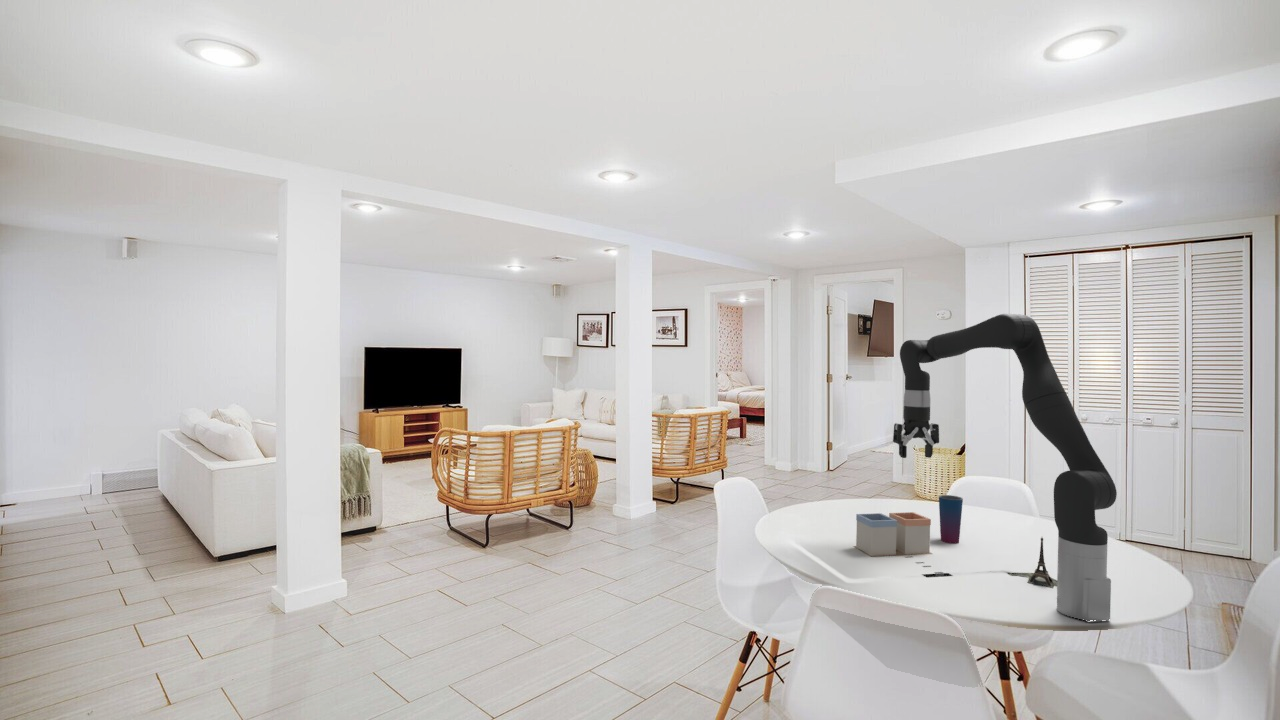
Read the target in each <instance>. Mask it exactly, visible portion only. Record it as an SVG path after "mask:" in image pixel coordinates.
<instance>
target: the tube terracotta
mask: <svg viewBox="0 0 1280 720" xmlns="http://www.w3.org/2000/svg"><path fill="white" fill-rule="evenodd" d="M888 517H890V518H893V519H895V520H897V527H896V550H898V551H900V552H902V553H904V554H918V553H931V552H930V546H931V545H930V543H931V524H932V523H931V522H932V518H929V517H926V516H924V515H921V514H919V513H916V512H913V511H912V512H909V511H908V512H889V514H888Z"/></svg>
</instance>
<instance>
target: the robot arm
mask: <svg viewBox="0 0 1280 720" xmlns="http://www.w3.org/2000/svg"><path fill="white" fill-rule="evenodd" d="M983 348H984V349H985V348H989V349H990V348H992V349H993V348H999V349H1002V350H1012V351H1013V352H1014V353H1015V356H1016V357H1017V360H1018V361H1019V363H1020V366H1021V368H1022V372H1023V373H1022V374H1023V376H1022V377H1023V378H1022V389H1021V395H1022V396H1021V398H1022V402H1023V404H1024V407H1025V409H1026V412H1027V413H1028V415H1029V418H1030V420H1031V423H1032V424H1033V425H1034V426H1035V429H1037V430H1038V431H1039V432H1040V434H1042V436H1043V437H1044V438H1045V439H1046V440H1048V442H1050V443H1051V444H1052V445H1053V447H1055V448H1056V449H1057V451H1059V454H1060V455H1061V456H1062V457H1063V459H1064V461H1065V463H1066V465H1067V467H1068V470H1066V471H1063V472H1061V473H1059V474H1058V476H1057V477H1056V479H1055V482H1054V486H1053V513H1054V514H1053V516H1054V517H1053V518H1054V522H1055V525H1056V527H1057V530H1058V531H1057V532H1058V535H1057V536H1058V537H1057V538H1058V539H1057V540H1058V541H1057V578H1056V580H1057V586H1056V610H1057V611H1058V613H1060V614H1062V615H1064V614H1065V615H1064V616H1066V615H1067V617H1069V616H1071V617H1070V618H1072V617H1074V618H1073V619H1075V618H1079V619H1084V620H1087V621H1090V620H1093V621H1094V620H1096V621H1102V620H1109V619H1110V620H1111V603H1112V602H1111V596H1112V595H1111V594H1112V593H1111V591H1112V580H1111V578H1109V577H1108V576H1107V574H1108V570H1107V569H1108V538H1109V537H1108V536H1109V535H1108V532H1107V530H1106V529H1105V528H1103V527H1101V526H1098V524H1097V521H1096V511H1097V510H1105V509H1108V508H1110V507H1111V506H1113V505H1114V504H1115V502H1116V500H1117V493H1118V492H1117V488H1116V485H1115V482H1114V480H1113V478H1112V476H1111V475H1110V473H1109V471H1108V470H1107V467H1106V466H1105V465H1104V463H1103V462H1102V460H1101V459H1100V457H1099V456H1098V454H1097V452H1096V451H1095V449H1094V447H1093V445H1092V444H1091V442H1090V440H1089V437H1088V436H1087V434H1086V431H1085V430H1084V427H1083V426H1082V424H1081V421H1080V419H1079V417H1078V416H1077V413H1076V411H1075V408H1074V406H1073V405H1072V402H1071V401H1070V398H1069V396H1068V395H1067V391H1066V390H1065V388H1064V387H1063V384H1062V382H1061V381H1060V378H1059V377H1058V373H1057V371H1056V369H1055V367H1054V365H1053V363H1052V361H1051V359H1050V356H1049V352H1048V351H1047V347H1046V345H1045V342H1044V338H1043V336H1042V332H1041V331H1040V328H1039V326H1038V324H1037V322H1036V321H1035V320H1034V319H1033V318H1032V317H1030V316H1028V315H1027V314H1026V315H1025V314H1017V313H1016V314H1015V313H1001V314H998V315H995V316H992V317H991V318H988V319H986V320H983V321H981V322H980V323H979V322H978V323H977V324H974V325H972V326H969V327H968V326H967V327H965V328H961V329H958V330H955V331H949V332H946V333H941V334H937V335H934V336H932V337H930V338H929V339H927V340H921V339H917V340H916V339H909V340H906V341H904V342H903V343H902V345H901V347H900V350H899V358H900V363H901V366H902V370H903V374H904V394H903V413H902V414H903V415H902V416H903V417H902V419H903V423H897V422H895V423H894V424H893V435H892V437H893V438H892V442H893V443H894V444H897V445H898V455H899V457H900V458H902V459H906V458H907V455H908V454H907V452H908V451H907V450H908V449H907V448H908V447H907V444H908V443H909V441H911V440H912V439H917V438H918V439H922V440H923V442H924V444H925V445H924V457H925V458H928V459H930V458H932V456H933V454H934V453H933V452H934V451H933V450H934V449H933V447H934V445H936V444H939V443H940V428H939V427H940V425H939V424H938V423H930V421H931V393H930V392H931V391H930V387H931V376H930V373H929V372H927V371H925V370H923V369H921V365H920V364H926V363H933V362H936V361H938V360H941V359H946V358H947V359H948V358H953V357H957V356H960V355H964V354H965V353H967V352H970V351H972V350H975V349H983ZM903 431H904V432H903ZM929 431H930V433H929ZM1079 619H1078V620H1079ZM1102 622H1103V621H1102Z"/></svg>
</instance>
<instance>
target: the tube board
mask: <svg viewBox="0 0 1280 720" xmlns="http://www.w3.org/2000/svg"><path fill="white" fill-rule="evenodd" d="M852 547H854V548H855V549H856V550H857V551H860V552H862V553H863V554H865V555H867V556H869V557H871V558H879V557H880V558H881V557H899V556H900V557H901V556H902V557H903V556H904V557H905V556H921V555H923V556H925V555H933V553H932V552H930V553H918V554H904V553H902V552H900V551H898V550H896V555H876V556H871V555H869V554H867V553H865V552H864V551H862V550H860V549H858V548H857V547H856V545H853V546H852Z"/></svg>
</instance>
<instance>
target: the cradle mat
mask: <svg viewBox="0 0 1280 720" xmlns="http://www.w3.org/2000/svg"><path fill="white" fill-rule="evenodd" d="M905 558H908V559H909V558H913V555H908V556H905ZM915 563H916V564H925V562H924V561H922V562H921V561H918V562H917V561H916V562H915ZM922 567H923V568H931V567H932V565H922ZM921 576H923V577H925V578H940V577H954V575H953V574H950V573H948V572H943V571H935V572H933V573H927V574H926V573H925V574H921Z"/></svg>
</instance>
